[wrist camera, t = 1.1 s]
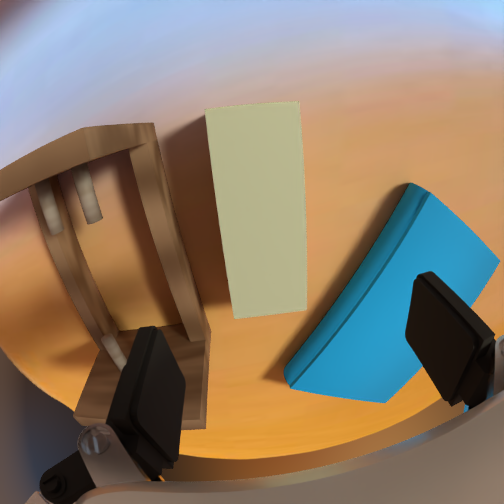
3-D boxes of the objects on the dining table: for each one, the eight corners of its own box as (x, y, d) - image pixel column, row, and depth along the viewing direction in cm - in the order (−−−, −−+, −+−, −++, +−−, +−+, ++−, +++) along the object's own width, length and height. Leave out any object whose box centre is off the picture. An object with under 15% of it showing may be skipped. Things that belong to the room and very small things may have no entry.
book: (501, 259, 25) (387, 405, 33) (480, 245, 29) (377, 384, 37) (425, 187, 21) (286, 391, 29) (400, 177, 25) (280, 364, 33)
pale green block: (210, 112, 21) (204, 109, 16) (285, 105, 21) (299, 101, 17) (233, 286, 28) (234, 318, 23) (295, 279, 28) (306, 309, 23)
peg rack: (41, 164, 21) (-49, 203, 10) (153, 122, 21) (82, 127, 10) (113, 342, 30) (81, 425, 19) (211, 331, 30) (205, 428, 19)
